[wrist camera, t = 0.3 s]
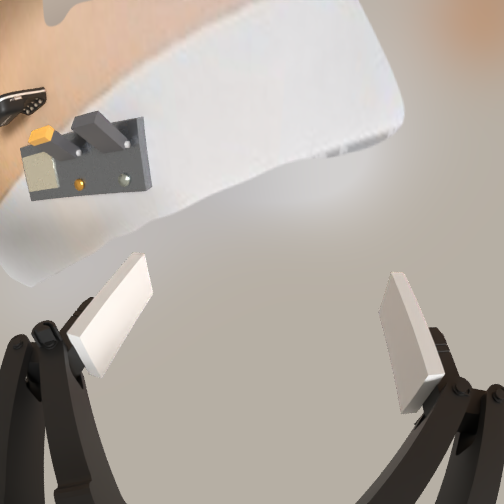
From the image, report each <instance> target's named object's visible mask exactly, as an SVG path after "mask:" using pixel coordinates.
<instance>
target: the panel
mask: <svg viewBox="0 0 504 504" xmlns="http://www.w3.org/2000/svg"><path fill="white" fill-rule="evenodd" d="M111 124H112V125H113V126H114V127H115V128H117V129H118V130H119V131H120V132H121V133H122V134H123V135H124V136H125V137H126V138H127V139H128V140H127V141H130V147H129V148H125V150H123V151H116V152H110V153H102V152H100V151H99V150H98V149H96V148H95V147H94V146H93V145H91V144H90V143H89V142H87V141H86V140H85V139H84V138H82V137H81V136H80V135H78V134H77V133H76V132H71V133H67V134H63V135H62V136H64V137H65V138H66V139H68V140H69V141H70V142H72V143H73V144H75V145H76V146H77V147H79V150H81V151H82V154H81V156H77V158H75V159H70V160H65V161H58V160H57V159H55V158H53V157H52V156H50V155H48V154H47V153H45V152H44V151H42V150H40V149H39V148H37V147H35V146H33V145H28V146H25V147H22V148H20V150H21V156H22V161H23V167H24V171H25V176H26V181H27V185H28V189H29V193H30V197H31V201H36V200H44V199H53V198H62V197H72V196H82V195H94V194H106V193H120V192H135V191H147V190H148V189H150V188H151V187H152V183H151V176H150V169H149V162H148V155H147V147H146V139H145V130H144V120H143V117H139V118H134V119H128V120H123V121H118V122H113V123H111Z"/></svg>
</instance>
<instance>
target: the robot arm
mask: <svg viewBox="0 0 504 504" xmlns="http://www.w3.org/2000/svg"><path fill="white" fill-rule="evenodd" d="M152 294H153V290H152V286H151V281H150V277H149V272H148V268H147V263H146V258H145V254H144V253H135V252H133V253H132V254H131V255H130V256H129V257H128V259H127V260H126V261H125V262H124V263H123V264H122V265H121V267H120V268H119V269H118V270H117V271H116V272H115V274H114V275H113V276H112V277H111V278H110V279H109V281H108V282H107V283H106V284H105V285H104V287H103V288H102V289H101V290H100V291H99V293H98V294H97V295H96V296H95V297H90V298H88V299H87V300H85V301H84V302H83V303H82V304H81V305H80V306H79V308H78V309H77V311H75V313H74V314H73V316H71V318H70V319H69V320H68V321H67V323H66V324H65V325H64V327H63V328H62V329H61V330H60V332H59V331H58V329H57V327H56V325H55V323H54V322H52V321H49V320H46V321H43V322H40V323H38V324H37V325H36V326H35V327H34V328H33V330H32V333H31V334H32V336H33V338H34V340H35V342H30V341H29V339H28V337H27V336H26V335H24V334H23V335H22V334H20V335H17V336H15V337H13V338H12V339H11V340H10V342H9V344H8V346H7V349H6V352H5V355H4V359H3V362H2V365H1V369H0V504H45V498H44V438H45V437H44V436H45V427H46V433H47V439H48V444H49V449H50V454H51V459H52V463H53V467H54V471H55V475H56V479H57V483H58V488H57V489H56V490H54V499H55V502H56V504H126V503H125V501H124V500H123V498H122V496H121V494H120V491H119V489H118V487H117V484H116V482H115V479H114V477H113V474H112V472H111V469H110V466H109V464H108V461H107V458H106V456H105V453H104V449H103V447H102V444H101V440H100V437H99V434H98V431H97V428H96V424H95V421H94V417H93V413H92V409H91V405H90V401H89V397H88V394H87V389H86V384H85V380H84V376H83V374H82V370H83V368H84V367H85V368H86V370H87V371H88V373H89V374H90V375H93V376H96V377H99V378H103V376H104V374H105V372H106V370H107V369H108V367H109V365H110V364H111V362H112V360H113V358H114V357H115V355H116V353H117V352H118V350H119V348H120V346H121V345H122V343H123V341H124V340H125V338H126V336H127V335H128V333H129V331H130V330H131V328H132V327H133V325H134V323H135V322H136V320H137V318H138V317H139V315H140V314H141V312H142V310H143V309H144V307H145V306H146V304H147V302H148V301H149V299H150V297H151V296H152ZM379 316H380V320H381V324H382V328H383V331H384V335H385V339H386V343H387V347H388V352H389V356H390V360H391V365H392V369H393V374H394V379H395V383H396V389H397V394H398V398H399V405H400V410H401V414H405V413H416V412H417V411H418V410H419V409H420V408H421V406H422V405H423V410H424V413H423V414H422V416H421V417H420V418H419V419H418V420H417V422H416V423H415V427H414V429H413V430H412V431H411V433H410V435H409V436H408V438H407V439H406V440H405V442H404V443H403V445H402V446H401V448H400V449H399V450H398V452H397V453H396V455H395V456H394V457H393V459H392V460H391V461H390V463H389V464H388V465H387V467H386V468H385V469H384V471H383V472H382V473H381V475H380V476H379V477H378V478H377V480H376V481H375V482H374V483H373V484H372V485H371V487H370V488H369V489H368V490H367V491H366V492H365V494H364V495H363V496H362V497H361V498H360V499H359V500H358V501H357V503H356V504H415V502H416V501H417V499H418V498H419V497H420V495H421V494H422V492H423V491H424V489H425V487H426V486H427V484H428V483H429V481H430V479H431V478H432V476H433V475H434V473H435V471H436V470H437V468H438V466H439V464H440V462H441V461H442V459H443V457H444V455H445V454H446V452H447V450H448V448H449V446H450V444H451V442H452V440H453V438H454V436H455V438H454V443H453V447H452V451H451V455H450V459H449V462H448V466H447V469H446V473H445V476H444V479H443V482H442V485H441V489H440V491H439V494H438V497H437V500H436V502H435V504H496V500H497V496H498V491H499V487H500V482H501V477H502V471H503V466H504V387H503V386H501V385H499V384H494V385H491V386H490V387H489V388H488V390H487V391H483V390H478V389H473V388H472V386H471V385H470V383H469V382H468V381H467V380H466V379H465V378H462V377H460V376H459V374H458V371H457V368H456V366H455V363H454V360H453V358H452V355H451V353H450V352H449V351H450V350H449V348H448V345H447V343H446V340H445V338H444V336H443V334H442V333H441V332H440V331H439V330H438V328H436V327H433V328H432V327H430V328H429V327H428V326H427V324H426V321H425V319H424V316H423V314H422V311H421V309H420V307H419V304H418V302H417V300H416V298H415V295H414V293H413V291H412V289H411V287H410V285H409V282H408V280H407V278H406V276H405V274H404V273H401V272H391V274H390V277H389V281H388V284H387V287H386V291H385V294H384V297H383V301H382V303H381V306H380V310H379ZM26 377H27V378H26Z"/></svg>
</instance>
